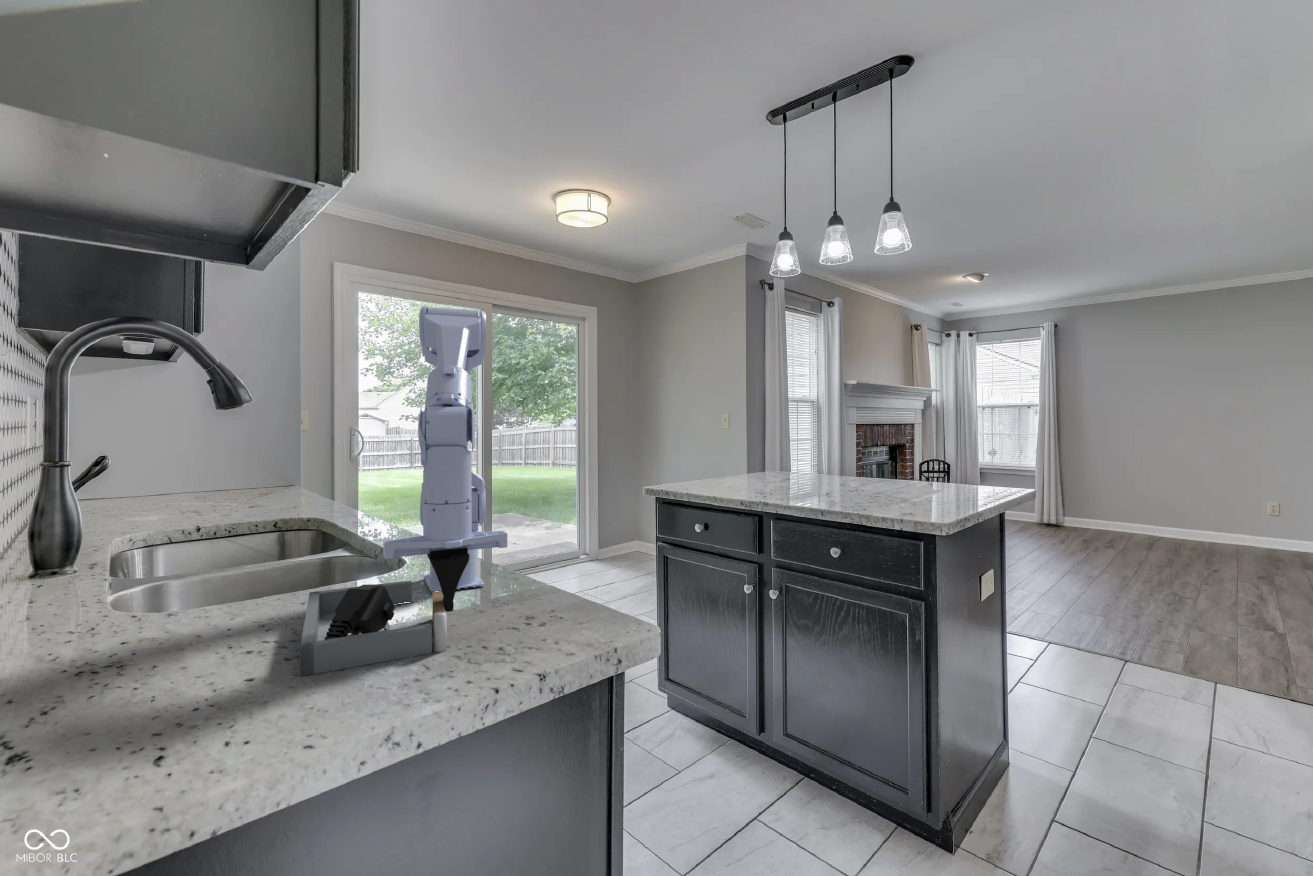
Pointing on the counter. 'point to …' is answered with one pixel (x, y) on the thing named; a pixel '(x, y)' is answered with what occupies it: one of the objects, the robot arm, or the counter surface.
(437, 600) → the gate
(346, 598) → the power plug
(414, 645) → the grey rectangular frame
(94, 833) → the counter surface
